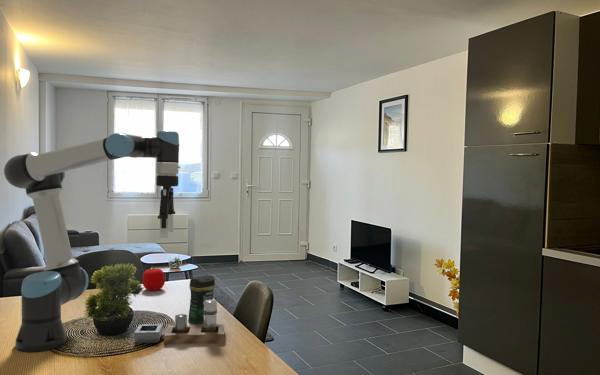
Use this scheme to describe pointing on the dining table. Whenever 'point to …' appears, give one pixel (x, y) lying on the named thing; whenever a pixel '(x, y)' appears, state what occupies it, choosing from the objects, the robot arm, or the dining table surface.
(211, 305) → the grey metal cylinder
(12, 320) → the dining table surface
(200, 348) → the dining table surface
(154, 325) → the socket block
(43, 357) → the dining table surface
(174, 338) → the rack
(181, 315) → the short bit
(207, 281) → the coffee jar
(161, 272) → the tomato
